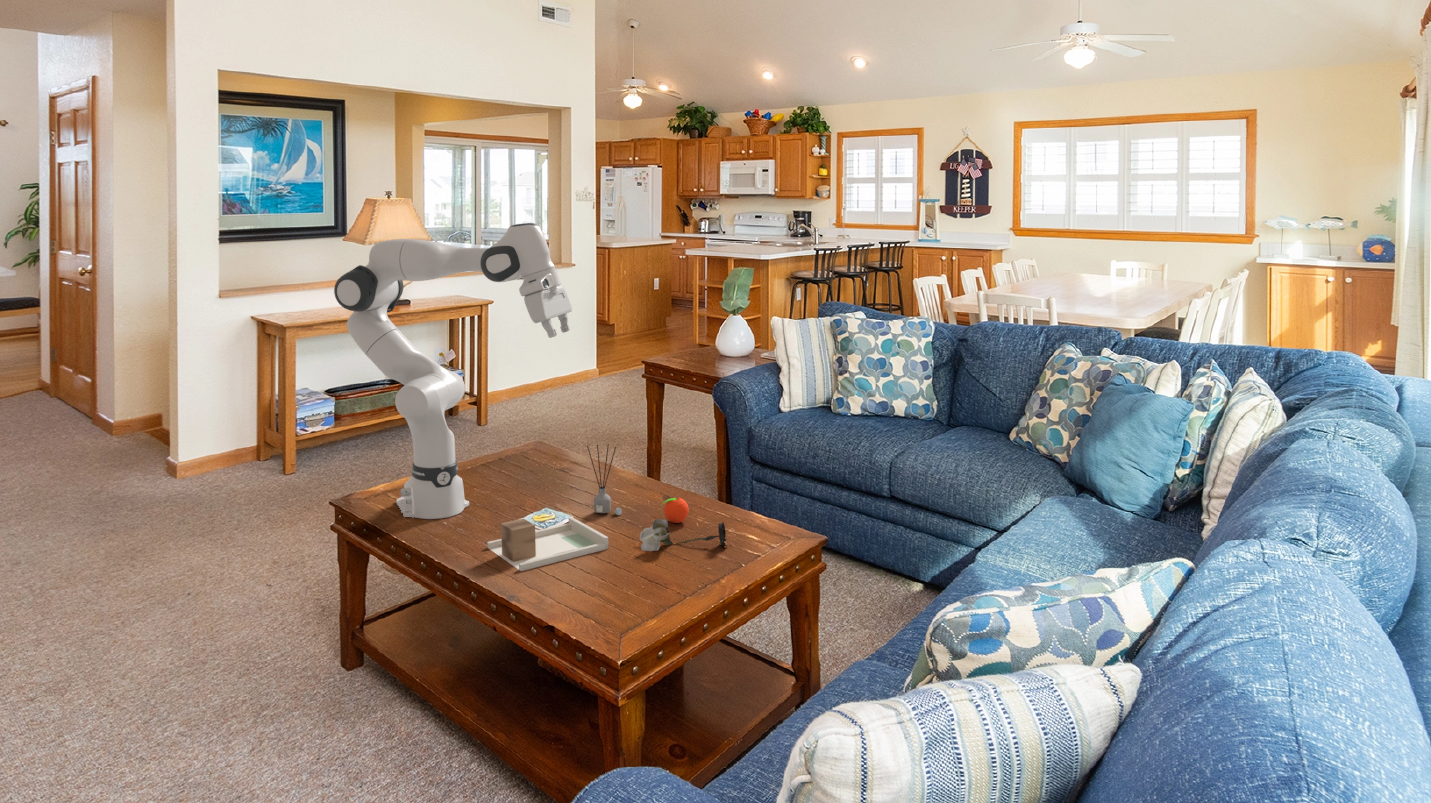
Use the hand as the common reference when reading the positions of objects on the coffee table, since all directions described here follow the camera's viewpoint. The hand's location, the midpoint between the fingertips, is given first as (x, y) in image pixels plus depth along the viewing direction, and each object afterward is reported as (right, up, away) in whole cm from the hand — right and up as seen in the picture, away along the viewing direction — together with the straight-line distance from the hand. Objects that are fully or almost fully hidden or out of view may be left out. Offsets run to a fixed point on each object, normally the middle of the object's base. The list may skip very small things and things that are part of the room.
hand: (559, 334), depth 239 cm
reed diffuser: (+10, -49, +20) cm, 54 cm away
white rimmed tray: (-1, -56, -10) cm, 57 cm away
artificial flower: (+32, -55, -4) cm, 64 cm away
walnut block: (-7, -55, -16) cm, 58 cm away
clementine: (+29, -51, +13) cm, 60 cm away
